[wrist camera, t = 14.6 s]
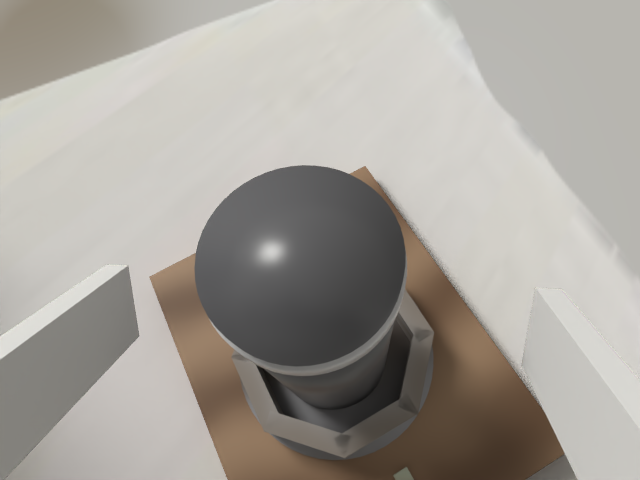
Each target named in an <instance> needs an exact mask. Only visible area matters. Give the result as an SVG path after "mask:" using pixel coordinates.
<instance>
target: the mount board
mask: <svg viewBox="0 0 640 480" xmlns="http://www.w3.org/2000/svg"><path fill="white" fill-rule="evenodd" d="M350 175H352V176H354V177H356V178H358V179H360V180H362V181H363V182H365V183H366V184H367V185H369V186H370V187H372V188H373V189H374V190H375V191H376V192H377V193H378V194H379V195H380V196H381V197H382V198H383V199H384V200H385V201H386V203H387V204H388V205H389V206H390V208H391V210H392V211H393V213H394V214H395V216H396V218H397V221H398V223H399V225H400V227H401V231H402V234H403V238H404V244H405V249H406V256H407V279H406V285H405V291H404V295H403V299H402V302H401V306H400V309H399V312H398V314H397V316H396V318H395V321H394V325H393V330H392V335H391V339H390V344H389V349H388V353H387V358H386V363H385V367H384V371H383V374H382V377H381V379H380V381H379V383H378V384H377V386H376V387H375V389H374V390H373V391H372V392H371V393H370V394H369V395H368V396H367V397H366V398H365V399H363V400H362V401H361V402H359V403H357V404H355V405H353V406H350V407H347V408H343V409H336V410H329V409H322V408H317V407H315V406H312V405H310V404H308V403H306V402H304V401H303V400H301V399H300V398H299V397H298V396H296V395H295V394H294V393H293V392H291V391H290V390H289V389H288V388H287V387H285V386H284V385H283V384H282V383H281V382H279V381H278V380H277V379H276V378H274V377H273V376H272V375H271V374H270V373H268V372H267V371H266V370H265V369H264V368H262V367H260V366H258V365H256V364H254V363H253V362H251V361H249V360H248V359H247V358H245V357H244V356H243V355H241V354H240V353H239V352H237V351H236V350H235V349H234V348H232V347H231V346H230V345H229V344H228V343H227V342H226V341H225V340H224V339H223V338H222V337H221V336H220V335H219V333H218V332H217V331H216V329H215V328H214V327H213V325H212V323H211V321H210V319H209V317H208V316H207V314H206V312H205V310H204V308H203V306H202V304H201V301H200V299H199V296H198V293H197V288H196V283H195V269H194V267H195V255H196V253H195V254H193V255H191V256H189V257H187V258H185V259H183V260H181V261H179V262H177V263H175V264H173V265H171V266H170V267H168V268H166V269H164V270H162V271H160V272H158V273H156V274H154V275H152V276H150V280H151V282H152V285H153V288H154V290H155V293H156V295H157V298H158V301H159V303H160V306H161V308H162V311H163V314H164V316H165V319H166V321H167V324H168V326H169V329H170V332H171V334H172V337H173V339H174V342H175V345H176V347H177V350H178V352H179V355H180V358H181V360H182V363H183V365H184V368H185V370H186V373H187V376H188V378H189V381H190V383H191V386H192V389H193V391H194V394H195V396H196V399H197V402H198V404H199V407H200V409H201V412H202V414H203V417H204V420H205V422H206V425H207V427H208V430H209V433H210V435H211V438H212V440H213V443H214V446H215V448H216V451H217V453H218V456H219V458H220V461H221V464H222V466H223V469H224V471H225V474H226V477H227V479H228V480H525V479H527V478H528V477H530V476H531V475H533V474H535V473H536V472H538V471H539V470H541V469H542V468H544V467H545V466H547V465H548V464H550V463H551V462H553V461H554V460H556V459H558V458H559V457H561V456H562V455H564V454H565V453H564V451H563V449H562V447H561V445H560V443H559V440H558V438H557V436H556V434H555V432H554V430H553V428H552V426H551V424H550V422H549V420H548V418H547V416H546V414H545V412H544V411H543V410H542V408H541V407H540V405H539V404H538V403H537V401H536V400H535V399H534V397H533V396H532V394H531V393H530V392H529V390H528V389H527V388H526V386H525V385H524V383H523V382H522V381H521V379H520V378H519V377H518V375H517V374H516V372H515V371H514V370H513V368H512V367H511V366H510V364H509V363H508V361H507V360H506V359H505V357H504V356H503V355H502V353H501V352H500V350H499V349H498V348H497V346H496V345H495V344H494V342H493V341H492V339H491V338H490V337H489V335H488V334H487V333H486V331H485V330H484V328H483V327H482V326H481V324H480V323H479V322H478V320H477V319H476V318H475V316H474V315H473V313H472V312H471V311H470V309H469V308H468V307H467V305H466V304H465V302H464V301H463V300H462V298H461V297H460V296H459V294H458V293H457V291H456V290H455V289H454V287H453V286H452V285H451V283H450V282H449V280H448V279H447V278H446V276H445V275H444V274H443V272H442V271H441V269H440V268H439V267H438V265H437V264H436V263H435V261H434V260H433V258H432V257H431V256H430V254H429V253H428V252H427V250H426V249H425V247H424V246H423V245H422V243H421V242H420V241H419V239H418V238H417V237H416V235H415V234H414V232H413V231H412V230H411V228H410V227H409V226H408V224H407V223H406V221H405V220H404V219H403V217H402V216H401V215H400V213H399V212H398V210H397V209H396V208H395V206H394V205H393V204H392V202H391V201H390V199H389V198H388V197H387V195H386V194H385V193H384V191H383V190H382V188H381V187H380V186H379V184H378V183H377V182H376V180H375V179H374V177H373V176H372V175H371V173H370V172H369V171H368V169H367V168H366V166H364V167H362V168H360V169H358V170H356V171H354V172H352V173H351V174H350Z"/></svg>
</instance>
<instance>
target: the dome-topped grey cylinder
mask: <svg viewBox="0 0 640 480" xmlns="http://www.w3.org/2000/svg"><path fill="white" fill-rule="evenodd" d="M194 269H195V283H196V288H197V293H198V296H199V299H200V301H201V304H202V306H203V308H204V310H205V312H206V314H207V316H208V317H209V319H210V321H211V323H212V325H213V327H214V328H215V329H216V331H217V332H218V333H219V335H220V336H221V337H222V338H223V339H224V340H225V341H226V342H227V343H228V344H229V345H230V346H231V347H232V348H234V349H235V350H236V351H237V352H239V353H240V354H241V355H243V356H244V357H245V358H247V359H248V360H249V361H251V362H253V363H254V364H256V365H258V366H260V367H262V368H264V369H265V370H266V371H267V372H268V373H270V374H271V375H272V376H273V377H274V378H276V379H277V380H278V381H279V382H281V383H282V384H283V385H284V386H285V387H287V388H288V389H289V390H290V391H291V392H293V393H294V394H295V395H296V396H298V397H299V398H300V399H301V400H303V401H304V402H306V403H308V404H310V405H312V406H315V407H317V408H322V409H329V410H336V409H343V408H347V407H350V406H353V405H355V404H357V403H359V402H361V401H362V400H363V399H365V398H366V397H367V396H368V395H369V394H370V393H371V392H372V391H373V390H374V389H375V387H376V386H377V384H378V383H379V381H380V379H381V377H382V374H383V371H384V367H385V363H386V358H387V353H388V349H389V344H390V339H391V335H392V330H393V325H394V321H395V318H396V316H397V314H398V312H399V309H400V306H401V302H402V299H403V295H404V291H405V285H406V279H407V256H406V249H405V244H404V238H403V234H402V231H401V227H400V225H399V223H398V221H397V218H396V216H395V214H394V213H393V211H392V210H391V208H390V206H389V205H388V204H387V203H386V201H385V200H384V199H383V198H382V197H381V196H380V195H379V194H378V193H377V192H376V191H375V190H374V189H373V188H372V187H370V186H369V185H367V184H366V183H365V182H363V181H362V180H360V179H358V178H356V177H354V176H352V175H350V174H347V173H345V172H342V171H340V170H336V169H332V168H328V167H321V166H304V165H302V166H291V167H285V168H280V169H276V170H273V171H270V172H267V173H264V174H262V175H260V176H257V177H255V178H253V179H251V180H250V181H248V182H246V183H244V184H243V185H241V186H240V187H239V188H237V189H236V190H234V191H233V192H232V193H231V194H230V195H229V196H228V197H227V198H225V199H224V200H223V202H222V203H221V204H220V205H219V206H218V207H217V208H216V210H215V211H214V212H213V214H212V215H211V217H210V218H209V220H208V222H207V224H206V226H205V227H204V229H203V231H202V234H201V237H200V240H199V242H198V246H197V251H196V255H195V267H194Z"/></svg>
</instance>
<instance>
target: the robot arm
mask: <svg viewBox="0 0 640 480" xmlns="http://www.w3.org/2000/svg"><path fill="white" fill-rule="evenodd" d="M138 337H139V331H138V325H137V318H136V312H135V306H134V299H133V293H132V287H131V280H130V274H129V268H128V265H112V264H107V265H105V266H104V267H102V268H101V269H99V270H98V271H96V272H95V273H93V274H92V275H90V276H89V277H87V278H86V279H84V280H83V281H81V282H80V283H78V284H77V285H76V286H74V287H73V288H71V289H70V290H68V291H67V292H65V293H64V294H62V295H61V296H59V297H58V298H56V299H55V300H53V301H52V302H50V303H49V304H47V305H46V306H44V307H43V308H41V309H40V310H39V311H37V312H36V313H34V314H33V315H31V316H30V317H28V318H27V319H25V320H24V321H22V322H21V323H19V324H18V325H16V326H15V327H13V328H12V329H10V330H9V331H7V332H6V333H4V334H3V335H1V336H0V480H4V479H5V478H6V477H7V476H8V475H9V474H10V473H11V472H12V471H13V470H14V469H15V468H16V466H17V465H18V464H19V463H20V462H21V461H22V460H23V459H24V458H25V457H26V456H27V455H28V454H29V453H30V452H31V451H32V449H33V448H34V447H35V446H36V445H37V444H38V443H39V442H40V441H41V440H42V439H43V438H44V437H45V436H46V435H47V434H48V432H49V431H50V430H51V429H52V428H53V427H54V426H55V425H56V424H57V423H58V422H59V421H60V420H61V419H62V418H63V417H64V415H65V414H66V413H67V412H68V411H69V410H70V409H71V408H72V407H73V406H74V405H75V404H76V403H77V402H78V401H79V400H80V398H81V397H82V396H83V395H84V394H85V393H86V392H87V391H88V390H89V389H90V388H91V387H92V386H93V385H94V384H95V383H96V382H97V380H98V379H99V378H100V377H101V376H102V375H103V374H104V373H105V372H106V371H107V370H108V369H109V368H110V367H111V366H112V365H113V363H114V362H115V361H116V360H117V359H118V358H119V357H120V356H121V355H122V354H123V353H124V352H125V351H126V350H127V349H128V348H129V346H130V345H131V344H132V343H133V342H134V341H135V340H136V339H137V338H138ZM521 365H522V367H523V369H524V371H525V373H526V375H527V377H528V379H529V381H530V383H531V385H532V387H533V389H534V391H535V393H536V396H537V398H538V400H539V402H540V404H541V406H542V408H543V410H544V412H545V414H546V416H547V418H548V420H549V422H550V424H551V426H552V428H553V430H554V432H555V434H556V436H557V438H558V440H559V443H560V445H561V447H562V449H563V451H564V453H565V455H566V457H567V459H568V461H569V463H570V465H571V467H572V469H573V471H574V473H575V475H576V477H577V479H578V480H640V379H639V378H638V377H637V376H636V374H635V373H634V372H633V371H632V370H631V369H630V367H629V366H628V365H627V364H626V363H625V362H624V361H623V359H622V358H621V357H620V356H619V355H618V354H617V352H616V351H615V350H614V349H613V348H612V347H611V345H610V344H609V343H608V342H607V341H606V340H605V338H604V337H603V336H602V335H601V334H600V333H599V331H598V330H597V329H596V328H595V327H594V326H593V324H592V323H591V322H590V321H589V320H588V319H587V317H586V316H585V315H584V314H583V313H582V312H581V310H580V309H579V308H578V307H577V306H576V305H575V303H574V302H573V301H572V300H571V299H570V298H569V296H568V295H567V294H566V293H565V292H564V291H563V290H562V289H554V288H536V287H535V292H534V297H533V303H532V308H531V314H530V319H529V325H528V330H527V336H526V341H525V347H524V352H523V358H522V363H521Z"/></svg>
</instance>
